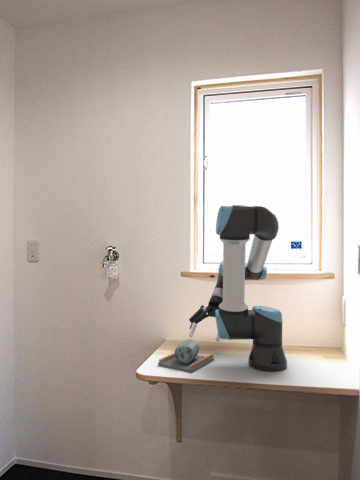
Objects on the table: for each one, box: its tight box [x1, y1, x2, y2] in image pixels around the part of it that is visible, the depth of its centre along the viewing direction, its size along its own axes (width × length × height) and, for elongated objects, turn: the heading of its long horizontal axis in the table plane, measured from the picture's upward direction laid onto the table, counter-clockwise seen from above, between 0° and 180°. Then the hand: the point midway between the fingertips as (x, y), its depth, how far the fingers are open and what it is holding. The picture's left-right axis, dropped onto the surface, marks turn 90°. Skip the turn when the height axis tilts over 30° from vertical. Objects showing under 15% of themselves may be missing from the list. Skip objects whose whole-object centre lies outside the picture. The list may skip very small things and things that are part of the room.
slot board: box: [157, 352, 215, 374], centre depth 156 cm, size 16×18×2 cm
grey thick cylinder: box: [174, 338, 200, 364], centre depth 156 cm, size 14×10×10 cm
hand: (203, 338), depth 168 cm, fingers open, 13 cm apart
